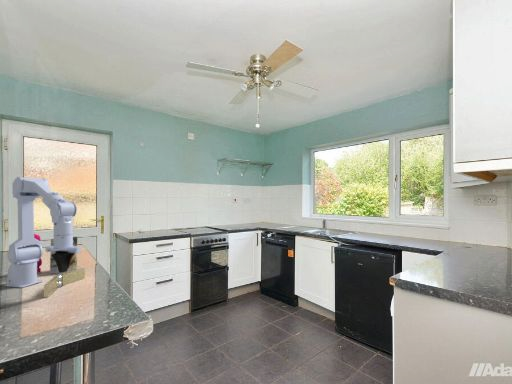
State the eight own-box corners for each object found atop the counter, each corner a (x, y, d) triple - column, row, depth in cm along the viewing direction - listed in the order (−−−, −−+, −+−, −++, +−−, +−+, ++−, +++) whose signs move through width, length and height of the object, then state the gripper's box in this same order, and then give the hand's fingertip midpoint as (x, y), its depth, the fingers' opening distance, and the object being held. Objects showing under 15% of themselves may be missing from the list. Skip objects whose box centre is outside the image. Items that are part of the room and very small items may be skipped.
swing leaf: (41, 297, 92) (41, 285, 92) (54, 286, 104) (54, 275, 104) (50, 296, 93) (50, 284, 93) (62, 285, 105) (62, 274, 105)
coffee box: (60, 274, 121) (61, 239, 122) (49, 273, 122) (49, 239, 123) (77, 268, 130) (78, 236, 130) (67, 268, 131) (67, 236, 132)
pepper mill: (29, 271, 127) (30, 230, 127) (45, 270, 127) (45, 229, 128) (17, 275, 119) (18, 232, 120) (34, 275, 120) (34, 231, 121)
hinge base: (51, 288, 102) (51, 276, 102) (81, 278, 114) (81, 267, 115) (56, 288, 101) (57, 277, 101) (86, 278, 114) (86, 268, 114)
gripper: (36, 235, 94) (36, 273, 93) (68, 236, 90) (68, 276, 90) (56, 233, 100) (56, 268, 100) (86, 234, 97) (86, 270, 97)
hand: (63, 272), depth 95 cm, fingers closed
